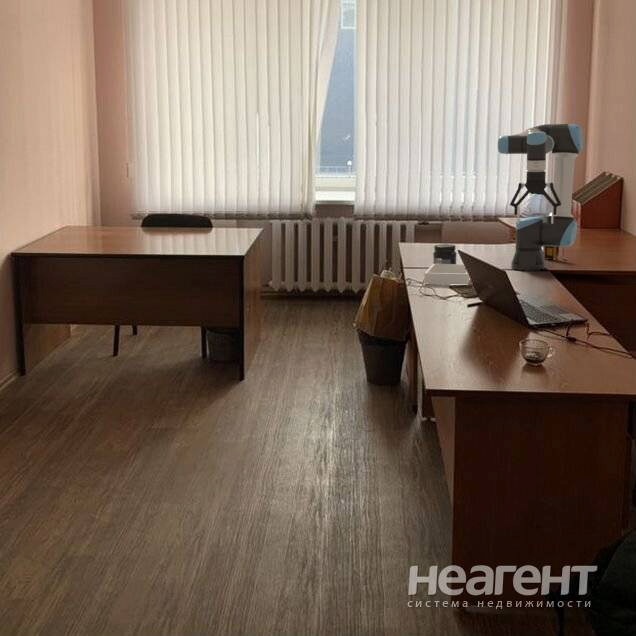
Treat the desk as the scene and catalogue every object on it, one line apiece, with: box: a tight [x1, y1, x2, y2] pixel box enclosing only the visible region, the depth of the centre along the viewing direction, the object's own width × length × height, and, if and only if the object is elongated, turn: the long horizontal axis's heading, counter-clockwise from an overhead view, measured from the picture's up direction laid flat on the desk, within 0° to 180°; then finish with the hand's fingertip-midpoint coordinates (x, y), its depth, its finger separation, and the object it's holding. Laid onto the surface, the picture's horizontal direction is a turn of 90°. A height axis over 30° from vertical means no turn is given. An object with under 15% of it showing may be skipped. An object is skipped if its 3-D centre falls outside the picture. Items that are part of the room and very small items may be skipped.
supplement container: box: [432, 243, 458, 265], centre depth 454 cm, size 10×10×12 cm
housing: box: [423, 263, 470, 286], centre depth 434 cm, size 24×18×5 cm
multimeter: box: [542, 217, 565, 261], centre depth 480 cm, size 15×10×20 cm
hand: (535, 223), depth 412 cm, fingers open, 13 cm apart
